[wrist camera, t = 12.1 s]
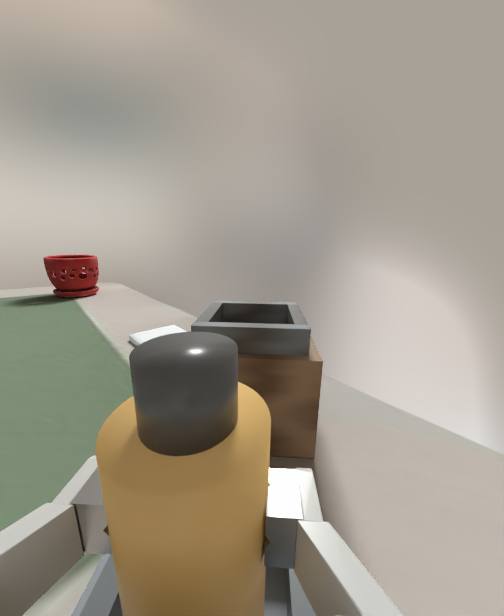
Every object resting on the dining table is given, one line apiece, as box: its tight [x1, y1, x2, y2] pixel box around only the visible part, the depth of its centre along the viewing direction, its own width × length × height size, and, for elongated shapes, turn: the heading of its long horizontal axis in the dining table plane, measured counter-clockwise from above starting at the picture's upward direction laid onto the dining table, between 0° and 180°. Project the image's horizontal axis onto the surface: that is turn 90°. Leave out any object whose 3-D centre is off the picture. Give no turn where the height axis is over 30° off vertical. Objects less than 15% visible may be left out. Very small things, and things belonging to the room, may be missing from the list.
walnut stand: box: [191, 300, 323, 458], centre depth 23 cm, size 10×10×10 cm
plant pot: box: [44, 255, 99, 298], centre depth 76 cm, size 13×13×12 cm
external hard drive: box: [129, 325, 186, 346], centre depth 40 cm, size 2×8×12 cm
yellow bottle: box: [95, 332, 271, 616], centre depth 8 cm, size 4×4×11 cm
